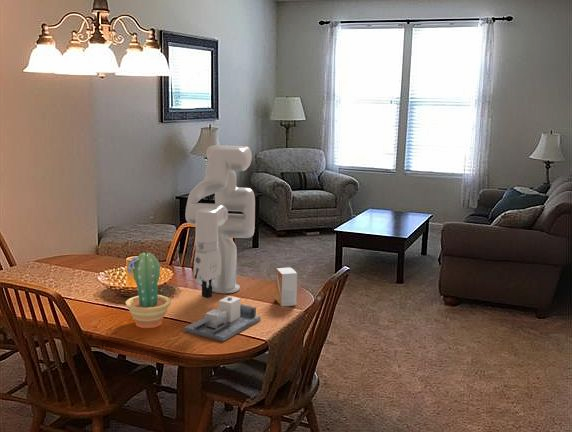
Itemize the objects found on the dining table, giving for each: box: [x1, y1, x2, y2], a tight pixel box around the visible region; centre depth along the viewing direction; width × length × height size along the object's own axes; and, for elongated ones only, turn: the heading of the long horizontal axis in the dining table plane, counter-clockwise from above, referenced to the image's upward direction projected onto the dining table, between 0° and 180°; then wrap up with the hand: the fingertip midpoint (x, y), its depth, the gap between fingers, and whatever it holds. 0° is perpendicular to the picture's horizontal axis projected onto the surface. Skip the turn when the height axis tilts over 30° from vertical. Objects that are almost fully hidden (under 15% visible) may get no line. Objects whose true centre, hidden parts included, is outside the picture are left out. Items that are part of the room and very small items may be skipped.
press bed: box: [184, 303, 261, 342], centre depth 218 cm, size 16×23×4 cm
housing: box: [218, 295, 241, 322], centre depth 220 cm, size 5×6×8 cm
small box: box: [275, 267, 298, 307], centre depth 243 cm, size 8×6×13 cm
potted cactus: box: [125, 252, 172, 329], centre depth 216 cm, size 15×15×25 cm
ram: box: [204, 308, 228, 329], centre depth 215 cm, size 5×8×4 cm, turn 151°
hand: (207, 296), depth 214 cm, fingers closed
